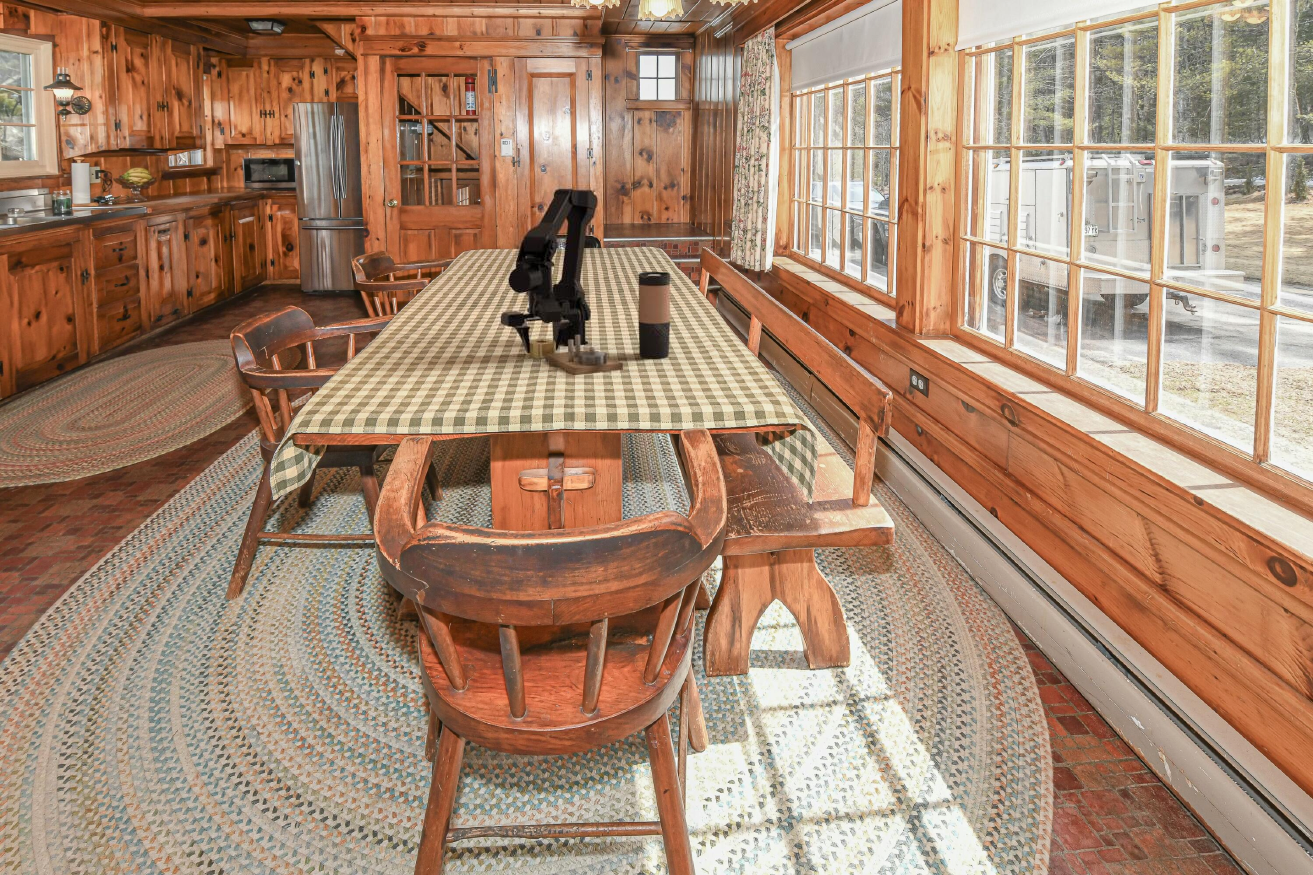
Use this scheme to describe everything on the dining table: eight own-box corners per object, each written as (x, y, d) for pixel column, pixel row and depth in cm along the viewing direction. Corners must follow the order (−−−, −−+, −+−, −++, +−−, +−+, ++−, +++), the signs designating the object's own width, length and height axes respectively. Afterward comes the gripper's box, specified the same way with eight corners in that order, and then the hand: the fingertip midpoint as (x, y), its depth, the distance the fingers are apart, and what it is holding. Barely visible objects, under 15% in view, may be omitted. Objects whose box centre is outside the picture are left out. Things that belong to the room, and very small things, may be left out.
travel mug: (669, 352, 238) (669, 271, 232) (670, 359, 231) (671, 275, 225) (638, 352, 238) (638, 271, 232) (638, 359, 230) (638, 275, 225)
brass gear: (549, 352, 238) (549, 338, 237) (560, 357, 233) (560, 342, 232) (524, 354, 235) (523, 340, 234) (534, 359, 229) (534, 345, 228)
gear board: (590, 355, 234) (590, 329, 232) (622, 369, 220) (622, 341, 218) (545, 360, 228) (544, 333, 227) (575, 375, 214) (574, 346, 212)
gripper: (515, 294, 218) (518, 361, 222) (590, 289, 227) (591, 354, 231) (498, 288, 227) (501, 353, 232) (570, 283, 236) (571, 346, 240)
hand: (542, 351), depth 233 cm, fingers closed on brass gear, 7 cm apart
